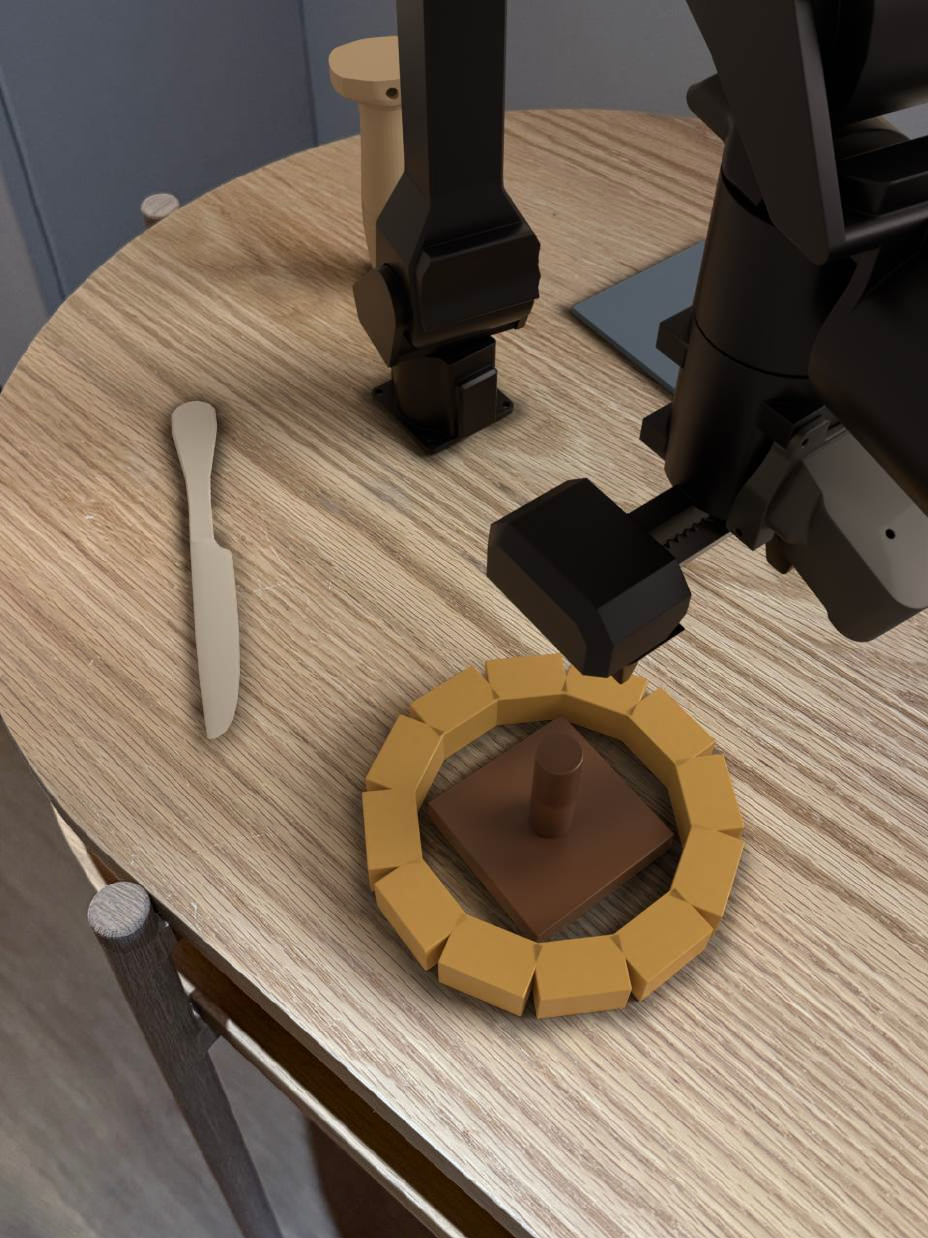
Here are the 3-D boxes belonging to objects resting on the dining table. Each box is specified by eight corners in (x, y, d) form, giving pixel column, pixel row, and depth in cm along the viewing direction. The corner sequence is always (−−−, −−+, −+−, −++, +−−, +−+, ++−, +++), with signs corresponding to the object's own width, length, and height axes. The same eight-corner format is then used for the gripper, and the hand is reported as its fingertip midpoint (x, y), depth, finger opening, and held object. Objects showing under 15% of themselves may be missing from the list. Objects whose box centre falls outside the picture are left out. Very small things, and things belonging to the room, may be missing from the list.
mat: (570, 312, 75) (571, 306, 75) (702, 245, 80) (703, 239, 79) (697, 414, 70) (699, 408, 69) (832, 336, 74) (834, 330, 74)
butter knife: (218, 396, 70) (169, 402, 69) (247, 731, 56) (186, 740, 56) (219, 401, 70) (171, 407, 70) (248, 735, 56) (188, 744, 56)
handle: (449, 292, 77) (447, 73, 65) (354, 304, 76) (334, 85, 64) (436, 248, 79) (432, 31, 67) (344, 259, 79) (323, 42, 67)
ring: (298, 800, 54) (292, 776, 52) (570, 628, 60) (573, 600, 58) (520, 1099, 46) (522, 1083, 44) (807, 866, 52) (820, 843, 50)
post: (428, 817, 54) (424, 735, 48) (559, 729, 57) (571, 641, 51) (535, 950, 50) (546, 880, 44) (670, 848, 53) (697, 769, 47)
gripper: (762, 640, 28) (666, 897, 40) (1203, 333, 34) (1002, 636, 47) (480, 385, 33) (474, 683, 45) (910, 162, 39) (801, 475, 52)
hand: (699, 619), depth 47 cm, fingers open, 9 cm apart
